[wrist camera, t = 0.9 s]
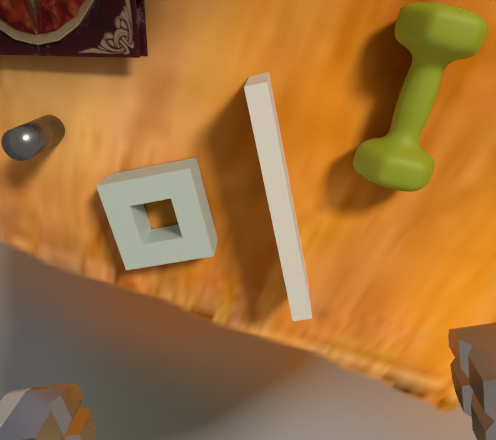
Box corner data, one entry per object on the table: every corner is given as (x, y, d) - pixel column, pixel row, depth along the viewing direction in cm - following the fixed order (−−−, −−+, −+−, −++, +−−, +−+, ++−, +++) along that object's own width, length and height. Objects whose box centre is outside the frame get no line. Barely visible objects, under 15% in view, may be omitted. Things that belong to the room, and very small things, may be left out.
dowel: (33, 118, 49) (-4, 132, 43) (58, 112, 49) (25, 126, 43) (43, 145, 51) (9, 163, 44) (68, 139, 50) (38, 157, 44)
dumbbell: (395, -3, 43) (416, -8, 36) (477, 17, 43) (513, 16, 37) (342, 163, 50) (352, 185, 43) (414, 180, 50) (435, 204, 43)
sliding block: (109, 174, 51) (96, 186, 48) (196, 157, 50) (189, 168, 46) (136, 253, 55) (126, 270, 51) (218, 239, 54) (213, 256, 50)
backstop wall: (249, 76, 46) (243, 86, 39) (268, 72, 46) (267, 81, 39) (290, 281, 55) (292, 321, 48) (307, 278, 55) (312, 318, 48)
